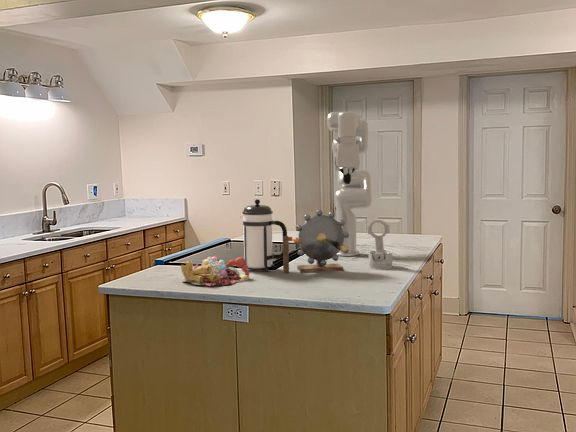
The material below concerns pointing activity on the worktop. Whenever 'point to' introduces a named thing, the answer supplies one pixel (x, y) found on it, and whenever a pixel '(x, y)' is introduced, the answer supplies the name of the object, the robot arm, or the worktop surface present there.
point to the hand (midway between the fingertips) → (347, 183)
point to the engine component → (379, 249)
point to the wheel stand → (305, 267)
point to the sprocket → (321, 237)
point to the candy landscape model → (215, 272)
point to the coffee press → (259, 236)
